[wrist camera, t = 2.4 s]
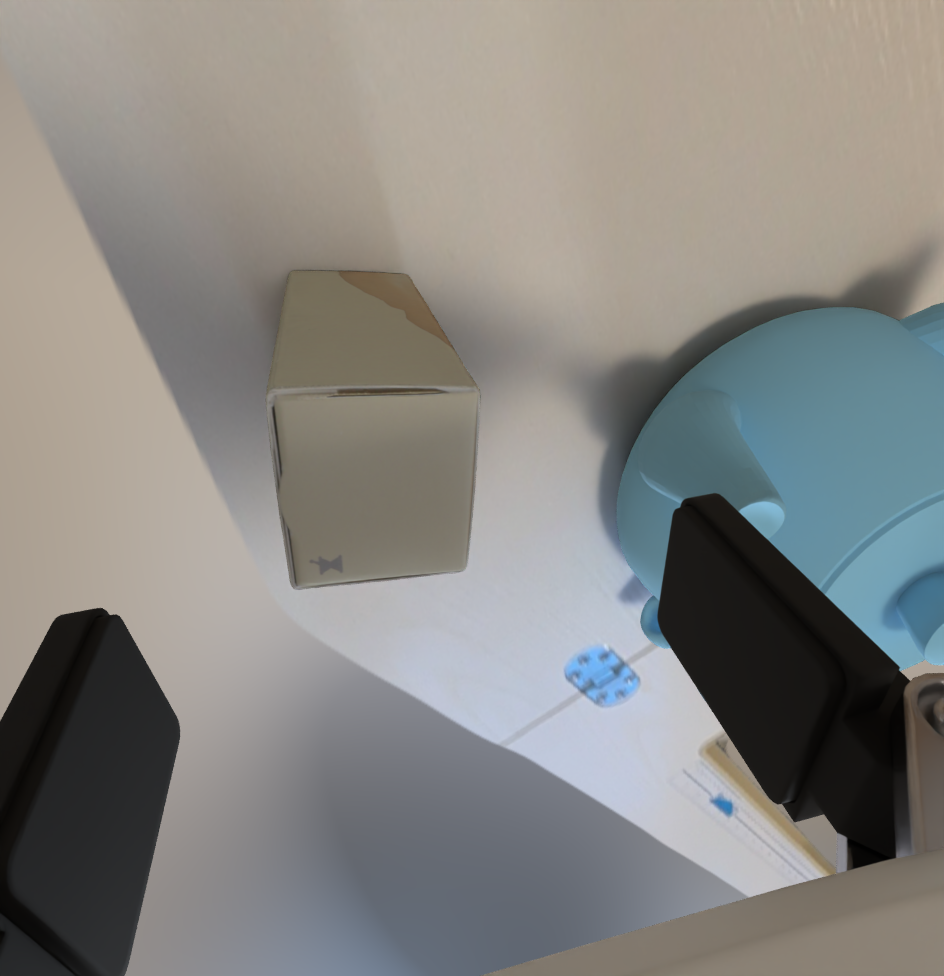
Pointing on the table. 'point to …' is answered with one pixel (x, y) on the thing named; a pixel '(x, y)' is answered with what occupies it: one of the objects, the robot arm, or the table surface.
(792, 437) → the teapot
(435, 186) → the table surface
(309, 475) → the box
